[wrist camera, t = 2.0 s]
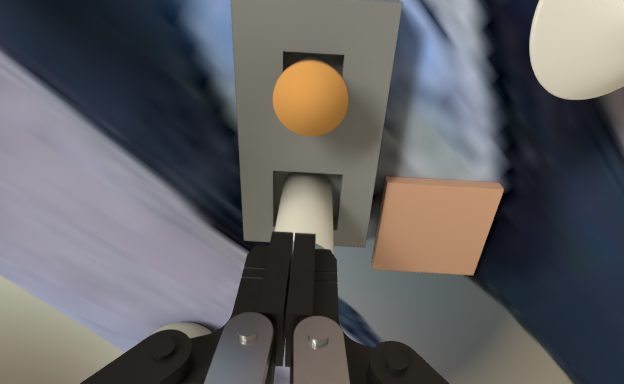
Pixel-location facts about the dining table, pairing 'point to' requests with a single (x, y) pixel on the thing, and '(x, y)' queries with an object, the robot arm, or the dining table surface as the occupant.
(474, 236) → the tile
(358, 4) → the grey peg board
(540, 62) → the mushroom
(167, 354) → the robot arm
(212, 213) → the dining table surface
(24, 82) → the dining table surface
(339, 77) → the plunger
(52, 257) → the dining table surface
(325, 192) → the ball-topped peg
